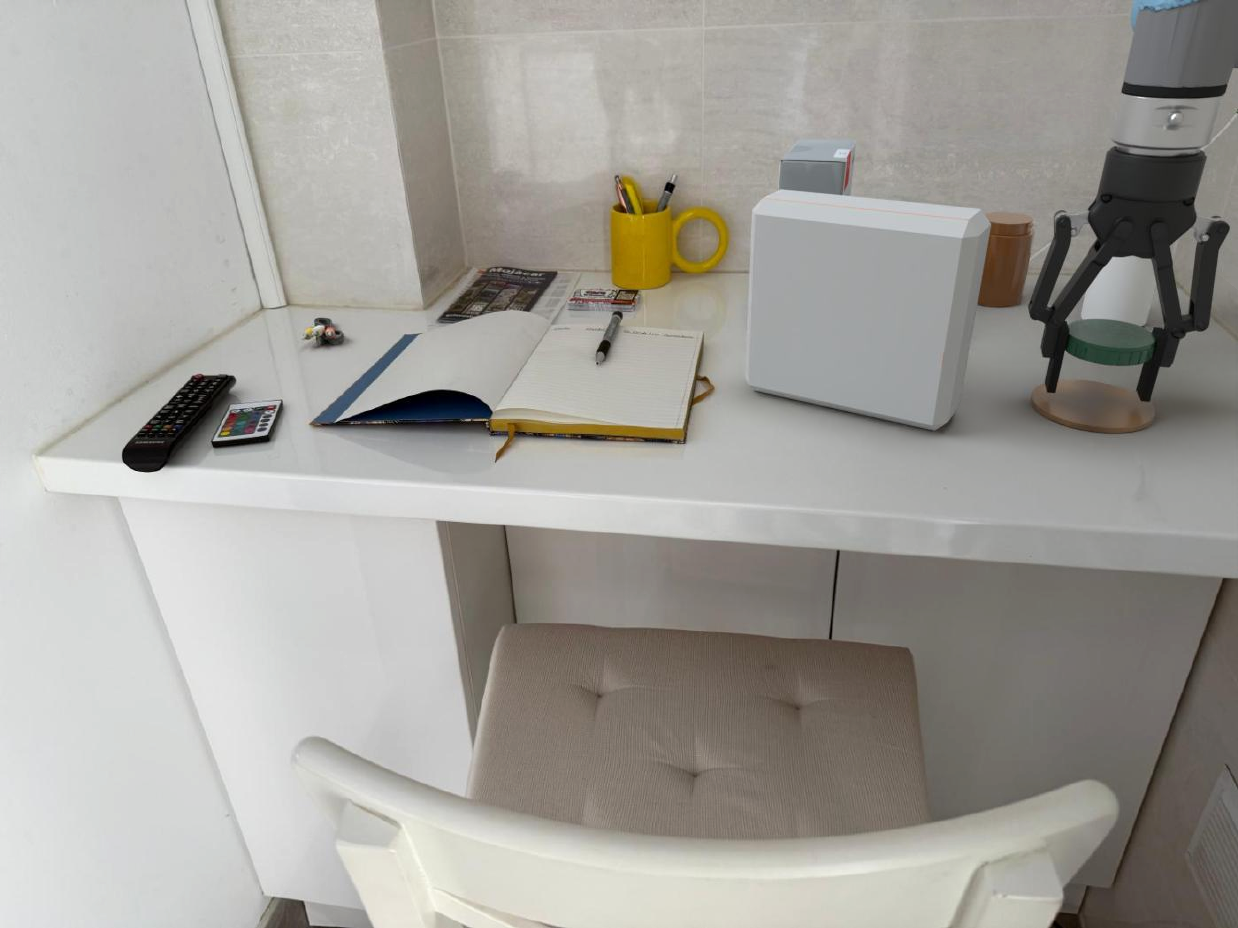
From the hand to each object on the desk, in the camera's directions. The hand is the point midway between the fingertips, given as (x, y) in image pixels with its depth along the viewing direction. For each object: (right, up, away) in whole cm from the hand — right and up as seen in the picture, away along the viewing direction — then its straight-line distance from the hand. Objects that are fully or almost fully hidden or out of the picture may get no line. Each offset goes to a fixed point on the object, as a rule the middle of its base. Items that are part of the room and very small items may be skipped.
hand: (1095, 391), depth 86 cm
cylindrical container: (+14, +11, +22) cm, 28 cm away
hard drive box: (-22, +13, +29) cm, 39 cm away
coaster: (0, -2, +1) cm, 2 cm away
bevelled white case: (-23, -1, +4) cm, 24 cm away
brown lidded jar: (+3, +15, +30) cm, 33 cm away
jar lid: (0, +5, -3) cm, 6 cm away
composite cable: (-84, +9, +26) cm, 88 cm away
